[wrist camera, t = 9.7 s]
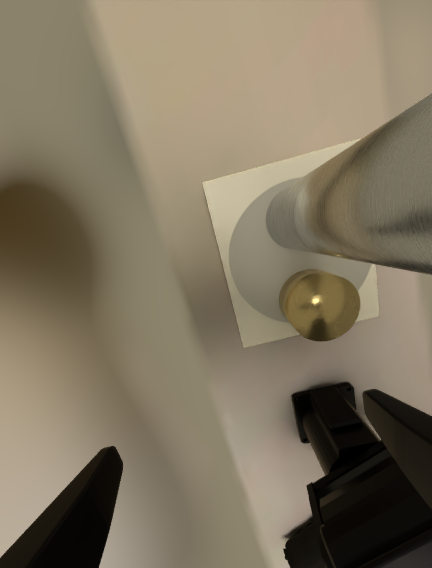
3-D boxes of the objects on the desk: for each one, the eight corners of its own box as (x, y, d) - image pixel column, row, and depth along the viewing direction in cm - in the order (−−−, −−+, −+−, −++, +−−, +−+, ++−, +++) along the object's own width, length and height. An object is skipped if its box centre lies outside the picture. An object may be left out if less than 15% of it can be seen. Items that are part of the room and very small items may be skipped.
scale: (365, 305, 20) (393, 318, 17) (240, 334, 21) (244, 353, 18) (351, 149, 17) (383, 129, 14) (203, 189, 17) (201, 179, 14)
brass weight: (341, 318, 17) (363, 332, 14) (284, 331, 17) (295, 347, 15) (335, 261, 16) (357, 266, 13) (273, 277, 16) (284, 284, 14)
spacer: (329, 240, 15) (868, 266, 3) (272, 255, 16) (521, 343, 3) (321, 177, 14) (1123, -242, 2) (260, 194, 15) (564, -66, 2)
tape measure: (318, 505, 27) (334, 548, 23) (350, 530, 28) (370, 574, 24) (279, 532, 28) (288, 576, 24) (311, 555, 29) (325, 601, 25)
